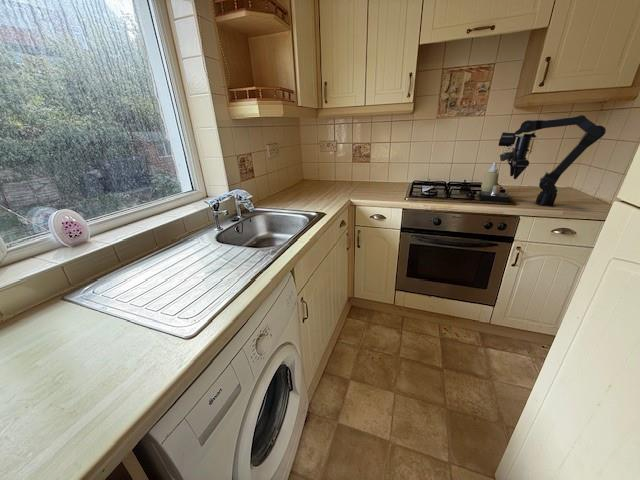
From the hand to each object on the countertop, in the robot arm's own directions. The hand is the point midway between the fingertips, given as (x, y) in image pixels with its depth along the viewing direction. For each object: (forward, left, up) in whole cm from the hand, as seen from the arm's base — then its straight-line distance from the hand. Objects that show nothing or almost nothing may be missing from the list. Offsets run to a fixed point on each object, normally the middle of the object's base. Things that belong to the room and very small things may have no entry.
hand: (512, 177), depth 140 cm
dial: (+7, +2, -9) cm, 12 cm away
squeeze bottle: (+8, -13, -12) cm, 20 cm away
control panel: (+7, +2, -12) cm, 14 cm away
